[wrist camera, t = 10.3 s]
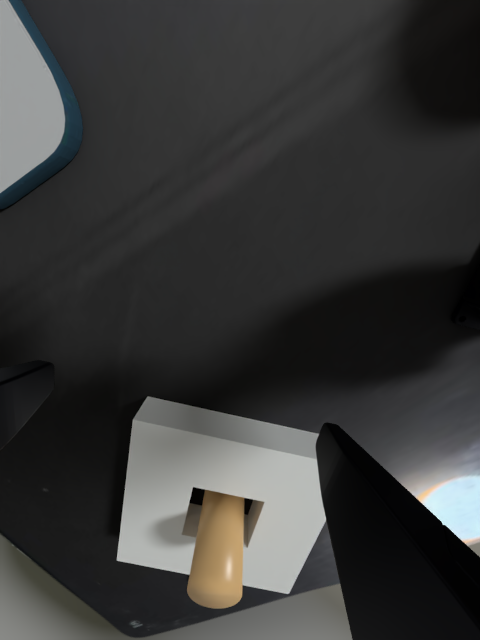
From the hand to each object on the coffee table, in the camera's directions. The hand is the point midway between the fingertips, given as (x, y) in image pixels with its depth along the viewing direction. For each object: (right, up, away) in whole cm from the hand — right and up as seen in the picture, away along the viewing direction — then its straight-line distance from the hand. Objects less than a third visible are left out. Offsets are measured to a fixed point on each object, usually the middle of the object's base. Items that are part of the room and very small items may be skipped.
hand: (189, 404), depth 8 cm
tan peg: (0, -14, +18) cm, 23 cm away
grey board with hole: (-1, -18, +19) cm, 26 cm away
